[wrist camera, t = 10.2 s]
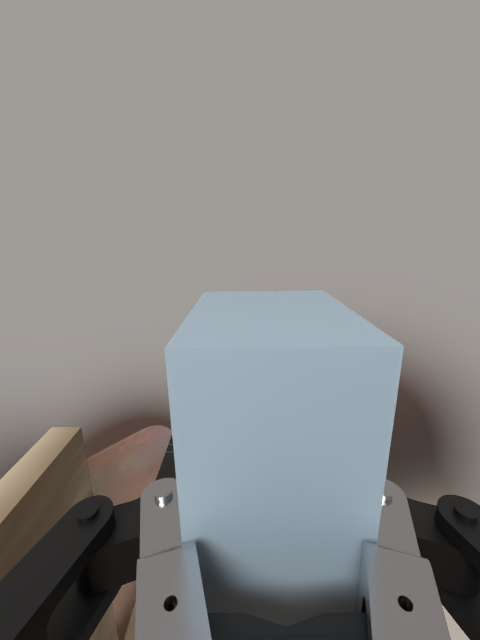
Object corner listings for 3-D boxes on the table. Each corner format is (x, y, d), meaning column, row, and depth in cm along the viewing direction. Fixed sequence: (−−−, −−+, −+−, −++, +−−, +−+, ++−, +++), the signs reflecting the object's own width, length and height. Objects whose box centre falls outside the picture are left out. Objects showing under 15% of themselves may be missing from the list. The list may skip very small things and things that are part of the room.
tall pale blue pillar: (202, 767, 9) (164, 349, 6) (217, 565, 15) (204, 292, 12) (345, 768, 9) (403, 346, 6) (306, 565, 15) (322, 290, 11)
